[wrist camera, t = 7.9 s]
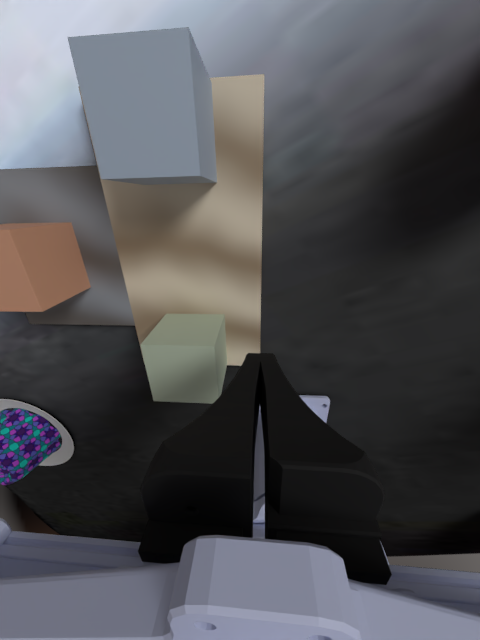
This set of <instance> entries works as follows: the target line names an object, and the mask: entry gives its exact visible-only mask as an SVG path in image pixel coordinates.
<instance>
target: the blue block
mask: <svg viewBox="0 0 480 640" xmlns="http://www.w3.org/2000/svg"><path fill="white" fill-rule="evenodd" d="M68 41H69V46H70V50H71V54H72V58H73V62H74V67H75V71H76V75H77V79H78V84H79V88H80V92H81V96H82V100H83V105H84V109H85V113H86V117H87V122H88V126H89V130H90V134H91V138H92V143H93V147H94V151H95V155H96V160H97V164H98V168H99V172H100V177H101V179H103V180H111V181H118V182H126V183H134V184H142V185H155V184H187V183H217V170H216V152H215V135H214V117H213V99H212V82H211V80H210V78H209V75H208V73H207V70H206V68H205V66H204V63H203V61H202V59H201V56H200V54H199V51H198V49H197V47H196V44H195V42H194V39H193V37H192V35H191V32H190V30H189V28H188V27H186V28H174V29H162V30H150V31H138V32H126V33H114V34H102V35H90V36H78V37H68Z"/></svg>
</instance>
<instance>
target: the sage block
mask: <svg viewBox="0 0 480 640" xmlns="http://www.w3.org/2000/svg"><path fill="white" fill-rule="evenodd" d="M140 346H141V350H142V354H143V358H144V362H145V367H146V371H147V375H148V379H149V384H150V388H151V392H152V396H153V401H164V402H188V403H214V402H215V401H216V400H217V399H218V398H219V397H220V395H221V392H222V387H223V382H224V377H225V372H226V367H227V349H226V331H225V314H166V315H165V316H164V317H163V318H162V319H161V321H160V322H159V323H158V324H157V325H156V326H155V328H154V329H153V330H152V331H151V332H150V334H149V335H148V336H147V337H146V338H145V340H144V341H143V342H142V343H141V344H140Z"/></svg>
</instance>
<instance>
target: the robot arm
mask: <svg viewBox="0 0 480 640" xmlns="http://www.w3.org/2000/svg"><path fill="white" fill-rule="evenodd" d="M323 404H325V405H323ZM329 405H330V400H329V398H328V397H327V396H310V395H298V394H297V392H296V391H295V390H294V388H293V387H292V386H291V384H290V383H289V381H288V380H287V378H286V376H285V375H284V373H283V372H282V370H281V368H280V366H279V364H278V362H277V360H276V357H275V355H274V354H271V353H248V354H247V355H246V357H245V360H244V362H243V364H242V366H241V367H240V369H239V371H238V372H237V374H236V376H235V377H234V379H233V380H232V381H231V383H230V384H229V386H228V387H227V388H226V389H225V391H224V392H223V393H222V394H221V395H220V397H219V398H218V399H217V400H216V401H215V402H214V403H213V404H212V405H211V406H210V407H209V408H208V409H207V410H206V411H205V412H204V413H203V414H201V415H200V416H199V417H198V418H196V419H195V420H194V421H193V422H191V423H190V424H189V425H188V426H186V427H185V428H184V429H182V430H181V431H179V432H178V433H176V434H174V435H173V436H171V437H170V438H168V439H167V440H165V441H163V442H162V444H161V446H160V447H159V449H158V451H157V452H156V454H155V456H154V458H153V460H152V462H151V464H150V466H149V468H148V471H147V473H146V476H145V478H144V480H143V483H142V486H141V489H140V490H141V497H142V500H143V503H144V506H145V509H146V512H147V515H148V518H149V521H148V524H147V526H146V529H145V532H144V535H143V538H142V541H141V542H130V541H119V540H108V539H96V538H85V537H74V536H63V535H51V534H40V533H29V532H18V531H12V530H11V527H10V526H9V524H8V523H7V522H6V521H5V520H4V519H2V518H0V640H480V573H477V572H467V571H455V570H444V569H433V568H422V567H410V566H399V565H389V563H388V560H387V557H386V554H385V552H384V549H383V546H382V544H381V542H380V539H381V537H382V535H381V531H380V528H379V525H378V523H377V520H376V519H377V517H378V514H379V512H380V509H381V507H382V504H383V502H384V497H385V492H384V489H383V486H382V483H381V481H380V479H379V477H378V474H377V472H376V471H375V469H374V467H373V465H372V464H371V462H370V460H369V458H368V457H367V455H366V453H365V452H364V451H362V450H361V449H360V448H358V447H357V446H355V445H354V444H352V443H351V442H349V441H348V440H346V439H345V438H344V437H342V436H341V435H340V434H338V433H337V432H336V431H335V430H333V429H332V428H331V427H329V426H328V425H327V424H326V421H327V416H328V410H329Z"/></svg>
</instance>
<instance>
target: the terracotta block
mask: <svg viewBox="0 0 480 640" xmlns="http://www.w3.org/2000/svg"><path fill="white" fill-rule="evenodd" d="M90 287H91V286H90V282H89V279H88V276H87V272H86V269H85V266H84V262H83V259H82V256H81V253H80V249H79V246H78V243H77V239H76V236H75V233H74V229H73V226H72V223H71V222H61V223H9V224H0V311H15V312H43V311H45V310H47V309H49V308H51V307H53V306H55V305H57V304H59V303H61V302H63V301H65V300H67V299H69V298H71V297H73V296H75V295H77V294H79V293H80V292H82V291H84V290H86V289H88V288H90Z"/></svg>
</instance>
